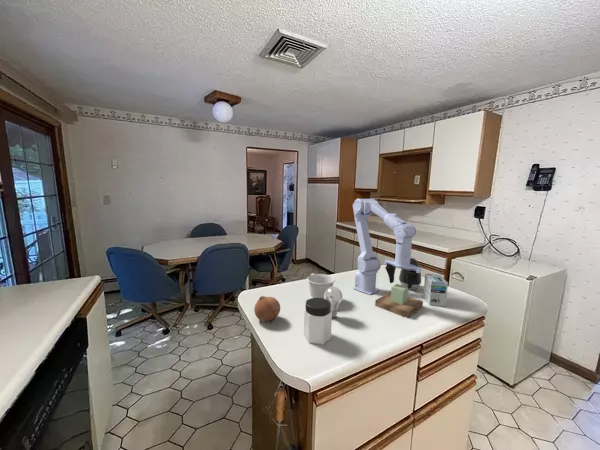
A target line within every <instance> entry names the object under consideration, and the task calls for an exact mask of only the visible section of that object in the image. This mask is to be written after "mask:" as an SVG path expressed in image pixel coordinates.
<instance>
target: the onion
mask: <svg viewBox="0 0 600 450" xmlns="http://www.w3.org/2000/svg"><path fill="white" fill-rule="evenodd" d="M253 310H254V311H253V312H254V314H255V317H256V318H257V320H259V321H260V322H261V321H262V322H264V323H265V322H266V323H268V322H269V323H272V322H273V321H276V319H277V318H278V316H279V315H280V311H281V304H280V302H279V300H278V299H276V297H273V296H264V295H262V296H261V295H260V297H259V299H258V300H257V301H256V303H255V305H254V308H253Z"/></svg>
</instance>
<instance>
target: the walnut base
mask: <svg viewBox="0 0 600 450" xmlns="http://www.w3.org/2000/svg"><path fill="white" fill-rule="evenodd" d="M390 300H391V291H389V292H388V293H385V294H384V295H382V296H380V297H379V298H377V299H375V301H374V307H377V308H380V309H383V310H385V311H388V312H391V313H393V314H396V315H399V316H401V317H403V318H406V319H409V318H411V316H412V315H414V314H416V313H417V312H418V311H420V310H421V309H422V308H423V306H424V301H423V300H420V299H417V298H414V297H412V296H411V297H410V296H408V301H407V302H405V303H404V304H399V303H396V302H393V301H390Z"/></svg>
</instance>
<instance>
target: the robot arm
mask: <svg viewBox="0 0 600 450" xmlns="http://www.w3.org/2000/svg"><path fill="white" fill-rule="evenodd" d="M352 209H353V215H354V222H355V228H356V232H357V238H358V243H359V248H360V254H359V255H358V257H357V269H358V270H357V271H356V272H355V275H354V286H353V290H357V291H359V292H362V293H364V294H367V295H373V294H374V293H377V292H378V291H380V289H379V288H376V286H377V273H379V271H380V269H381V265H382V264H381V261H380V259H379V257H378V256H379V255H378V254H377V253H376V252H374V251H373V245H372V242H371V241H372V240H371V236H370V235H371V234H370V232H369V231H370V230H369V225H368V221H367V219H368V218H369V217H371V215H372V214H373V213H374V214H375V215H376V216H378V218H380V219H382V220H383V224H384V225H385V226H387V227H388V228H389V229H390V230H391V231H393V234H394V236H395V242H396V243H395V244H396V245H395V258H394V260H392V259H384V265H385V271H386V273H387V274H388V275H387V276H388V279H389V283H390V284H392V283H394V282H395V272H396V269H397V268H399V269H406V270H410V272H408V290H410V288H412V284H413V282H414V280H415V278H416V276H417V275H418V273H420V272H422V266H421V267H420V266H419V267H418V266H415V265H412V264H410V258H412V257H411V255H412V254H411V253H412V245H413V244H412V242H413V238H414V237H415V236H416V233H417V229H416V227H415V225H414V224H413V223H410V222H409V223H407V222H406V220H404V219H402V218H400V217H399V216H398V214H397V213H389V212H388V211H387V210H386V209H384V207H383V206H381V204H379V201H377V200H376V199H374V198H356V199H355V200H354V202H353V203H352Z"/></svg>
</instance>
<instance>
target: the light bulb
mask: <svg viewBox="0 0 600 450" xmlns="http://www.w3.org/2000/svg"><path fill="white" fill-rule="evenodd" d="M342 293H343V292H342V291H341V290H340V288H338V287H337V286H333V287H329V288H327V289H326V291H325V293H324V299H326V300H328V301H329V302H330V303H331V312H332V319H333V318H335V317H336V316H337V314H338V309H339V306H340V304H341V303H342V301H343V294H342Z"/></svg>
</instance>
